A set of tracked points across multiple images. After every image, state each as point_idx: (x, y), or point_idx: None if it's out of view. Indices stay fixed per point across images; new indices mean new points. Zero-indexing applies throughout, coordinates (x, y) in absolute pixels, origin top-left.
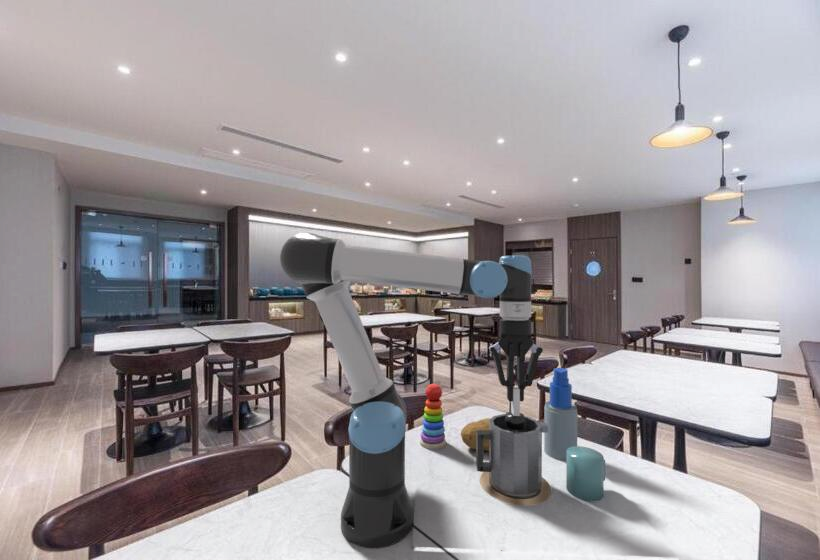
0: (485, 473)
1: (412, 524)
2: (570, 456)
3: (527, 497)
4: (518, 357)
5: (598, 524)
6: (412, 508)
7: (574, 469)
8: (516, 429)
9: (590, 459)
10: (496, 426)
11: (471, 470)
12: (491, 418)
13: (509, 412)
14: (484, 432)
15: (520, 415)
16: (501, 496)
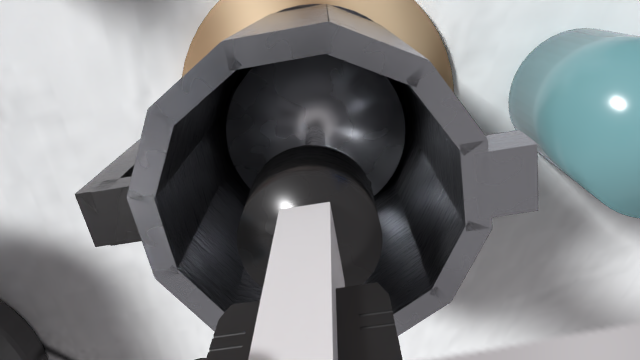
0: (197, 55)
1: (45, 356)
2: (584, 177)
3: None
4: None
5: (545, 249)
6: (18, 355)
7: (570, 175)
8: None
9: None
10: (190, 287)
11: (135, 21)
12: (138, 162)
13: (266, 202)
14: (129, 219)
15: (352, 243)
16: None
